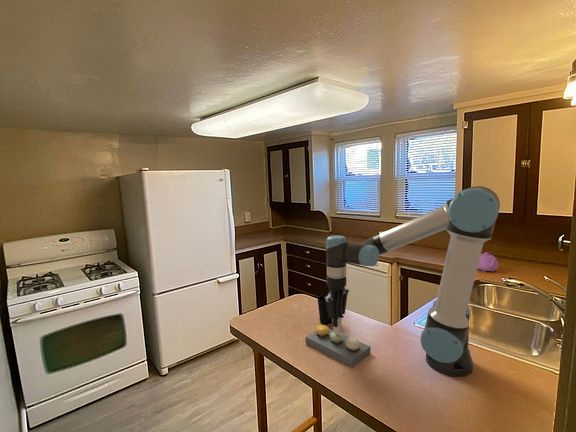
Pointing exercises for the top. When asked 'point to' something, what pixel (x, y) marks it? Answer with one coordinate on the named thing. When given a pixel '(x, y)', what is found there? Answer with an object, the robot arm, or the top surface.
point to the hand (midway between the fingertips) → (337, 333)
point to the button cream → (352, 344)
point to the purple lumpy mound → (487, 262)
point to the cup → (323, 311)
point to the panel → (338, 349)
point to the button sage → (336, 338)
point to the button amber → (322, 330)
